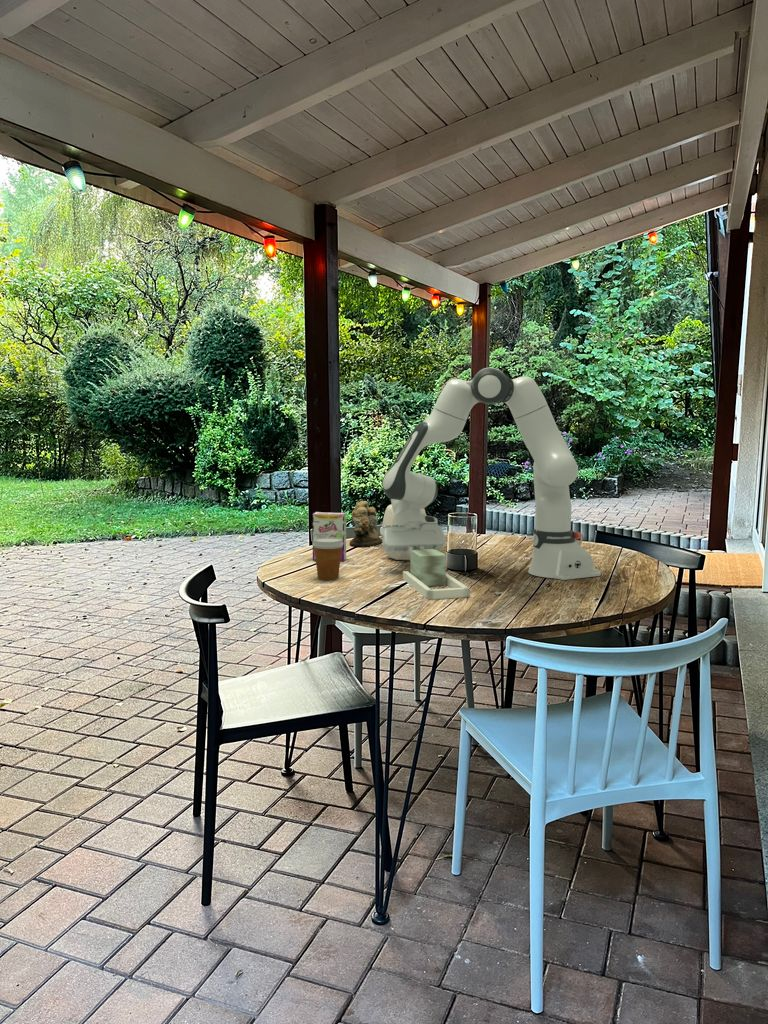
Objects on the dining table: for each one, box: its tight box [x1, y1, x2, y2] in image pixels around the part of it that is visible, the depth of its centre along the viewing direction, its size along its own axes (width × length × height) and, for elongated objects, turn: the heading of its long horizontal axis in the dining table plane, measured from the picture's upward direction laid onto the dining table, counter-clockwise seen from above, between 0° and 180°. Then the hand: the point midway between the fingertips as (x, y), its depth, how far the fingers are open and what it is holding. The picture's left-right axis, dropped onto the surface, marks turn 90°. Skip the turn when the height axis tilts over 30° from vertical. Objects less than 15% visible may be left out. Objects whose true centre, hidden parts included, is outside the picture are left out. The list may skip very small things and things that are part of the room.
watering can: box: [381, 504, 427, 561], centre depth 253 cm, size 16×27×19 cm, turn 169°
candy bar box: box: [312, 511, 347, 562], centre depth 248 cm, size 11×5×16 cm, turn 84°
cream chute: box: [402, 570, 471, 600], centre depth 209 cm, size 12×26×2 cm, turn 14°
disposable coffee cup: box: [312, 537, 344, 581], centre depth 221 cm, size 10×10×12 cm
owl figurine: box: [349, 500, 383, 548], centre depth 279 cm, size 18×12×17 cm, turn 162°
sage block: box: [409, 549, 447, 587], centre depth 215 cm, size 8×10×9 cm
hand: (418, 560), depth 225 cm, fingers closed
